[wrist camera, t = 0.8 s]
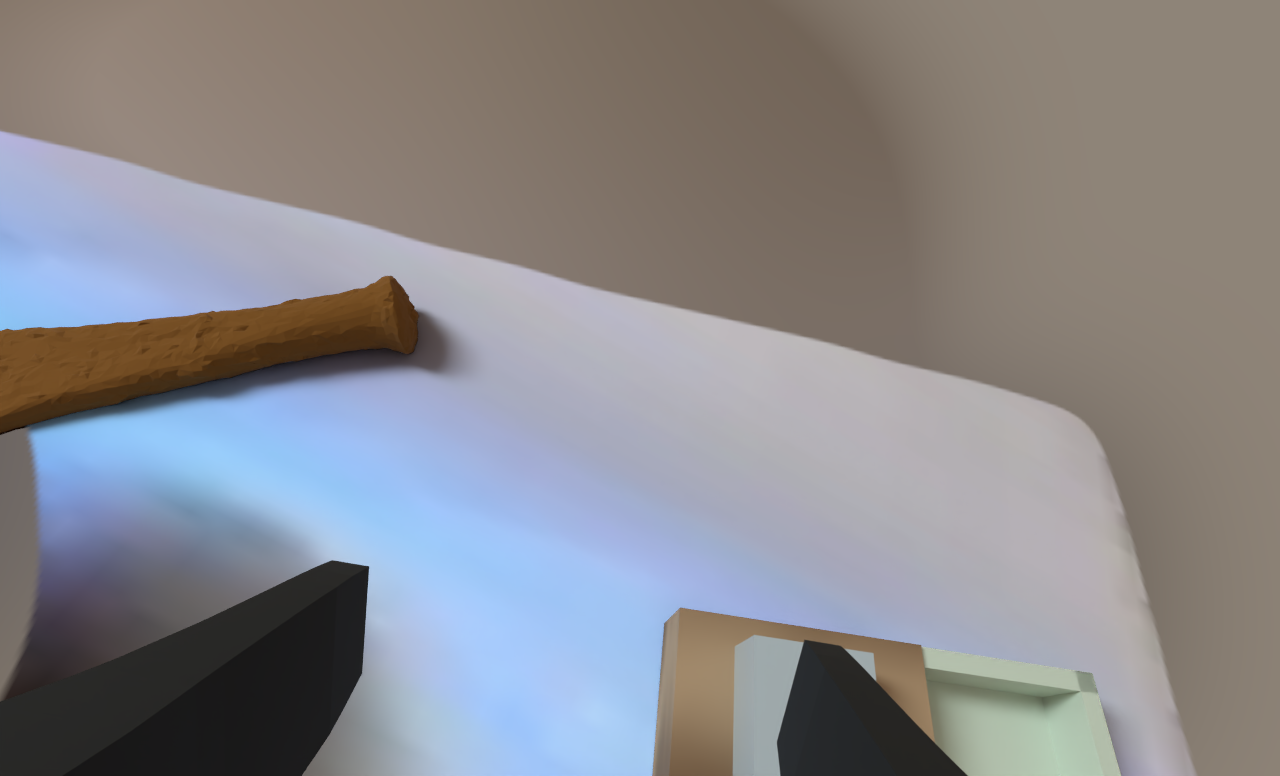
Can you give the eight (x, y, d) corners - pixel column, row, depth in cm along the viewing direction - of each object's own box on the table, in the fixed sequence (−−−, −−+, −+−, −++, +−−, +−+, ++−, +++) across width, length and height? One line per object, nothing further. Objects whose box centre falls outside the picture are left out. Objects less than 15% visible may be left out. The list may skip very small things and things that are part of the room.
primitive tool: (-127, 470, 22) (-224, 421, 19) (-96, 348, 24) (-178, 290, 21) (428, 367, 28) (419, 319, 25) (407, 279, 31) (397, 227, 28)
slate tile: (855, 800, 19) (888, 802, 17) (732, 784, 19) (754, 785, 17) (845, 662, 21) (873, 653, 20) (734, 646, 21) (754, 634, 19)
